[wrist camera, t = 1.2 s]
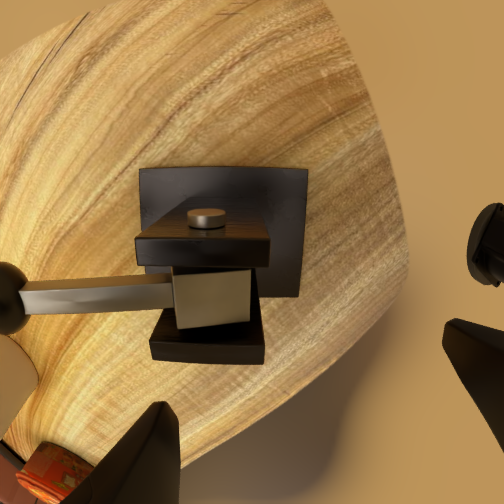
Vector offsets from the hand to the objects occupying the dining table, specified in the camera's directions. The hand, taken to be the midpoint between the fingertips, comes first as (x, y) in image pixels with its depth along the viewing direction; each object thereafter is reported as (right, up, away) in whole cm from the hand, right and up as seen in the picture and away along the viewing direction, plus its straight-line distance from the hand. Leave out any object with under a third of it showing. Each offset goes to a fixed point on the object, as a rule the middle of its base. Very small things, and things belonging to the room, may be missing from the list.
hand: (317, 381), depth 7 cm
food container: (-35, -35, +25) cm, 55 cm away
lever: (-9, +2, +4) cm, 10 cm away
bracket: (-4, +5, +12) cm, 14 cm away
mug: (-32, -8, +16) cm, 37 cm away
